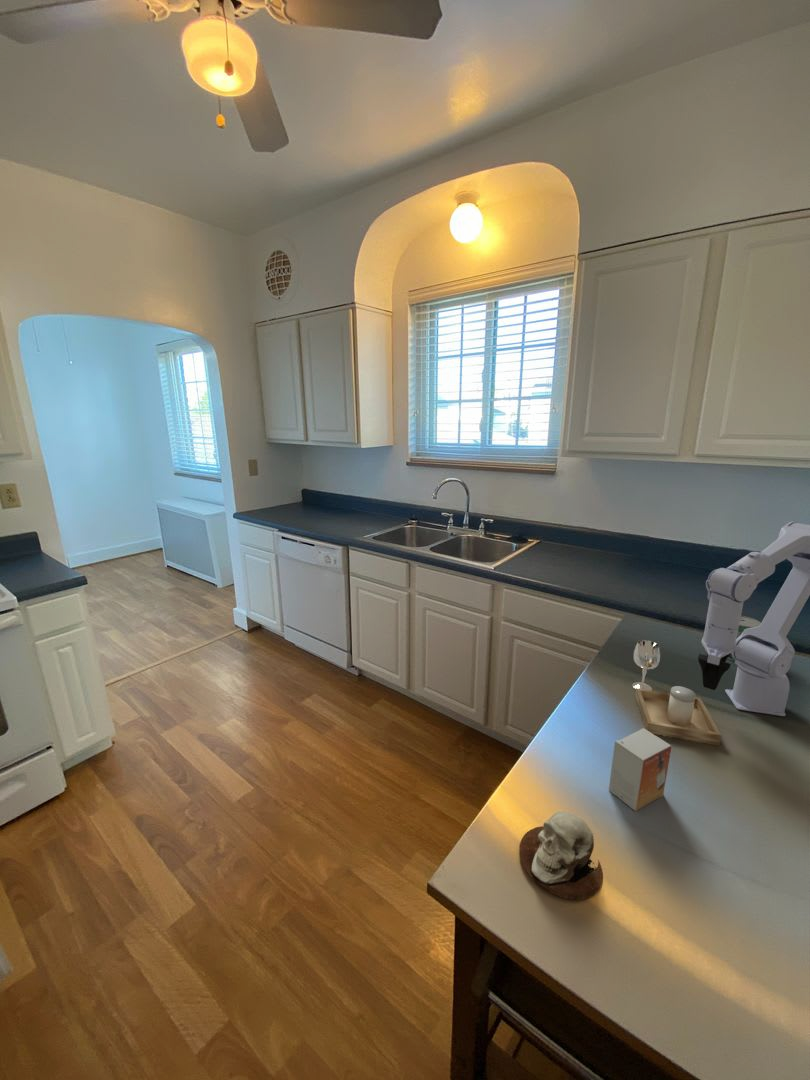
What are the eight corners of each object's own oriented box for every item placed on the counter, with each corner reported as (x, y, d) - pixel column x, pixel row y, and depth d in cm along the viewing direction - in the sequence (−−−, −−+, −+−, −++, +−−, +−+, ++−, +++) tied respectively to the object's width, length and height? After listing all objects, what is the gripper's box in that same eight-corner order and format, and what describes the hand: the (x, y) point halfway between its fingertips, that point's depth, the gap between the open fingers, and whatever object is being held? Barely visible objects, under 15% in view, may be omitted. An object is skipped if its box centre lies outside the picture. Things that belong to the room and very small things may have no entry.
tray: (698, 707, 104) (700, 697, 104) (719, 745, 92) (721, 735, 91) (634, 697, 108) (635, 688, 107) (646, 733, 95) (648, 723, 95)
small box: (635, 813, 76) (643, 761, 73) (607, 790, 81) (613, 740, 78) (664, 795, 79) (673, 745, 77) (636, 774, 84) (643, 726, 82)
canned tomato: (761, 663, 123) (769, 627, 120) (733, 663, 123) (740, 627, 120) (741, 649, 131) (748, 614, 128) (714, 649, 131) (720, 615, 128)
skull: (569, 921, 59) (533, 835, 62) (526, 907, 67) (497, 832, 71) (628, 875, 64) (591, 799, 68) (581, 867, 72) (551, 800, 76)
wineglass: (659, 694, 109) (666, 650, 106) (636, 694, 109) (642, 650, 106) (647, 681, 115) (654, 639, 112) (625, 681, 115) (630, 638, 112)
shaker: (693, 719, 98) (698, 692, 97) (687, 729, 95) (692, 701, 94) (670, 710, 102) (674, 683, 100) (663, 719, 98) (668, 692, 97)
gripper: (742, 641, 87) (730, 702, 90) (747, 617, 98) (736, 672, 101) (700, 631, 91) (690, 689, 95) (709, 609, 102) (700, 662, 105)
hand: (711, 680), depth 98 cm, fingers open, 7 cm apart
